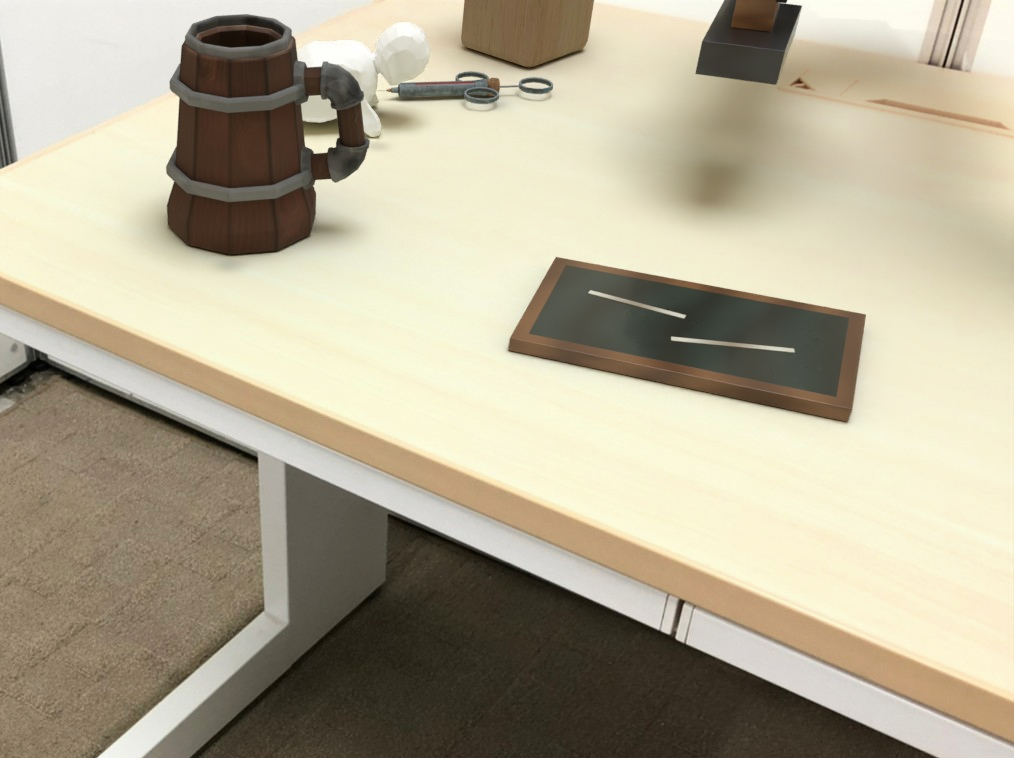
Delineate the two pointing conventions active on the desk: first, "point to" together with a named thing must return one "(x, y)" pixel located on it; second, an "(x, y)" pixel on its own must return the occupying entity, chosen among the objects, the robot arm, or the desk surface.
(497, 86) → the syringe
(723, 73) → the eraser
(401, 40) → the white animal figurine
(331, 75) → the mug
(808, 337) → the chalkboard
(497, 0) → the wooden block
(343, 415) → the desk surface
